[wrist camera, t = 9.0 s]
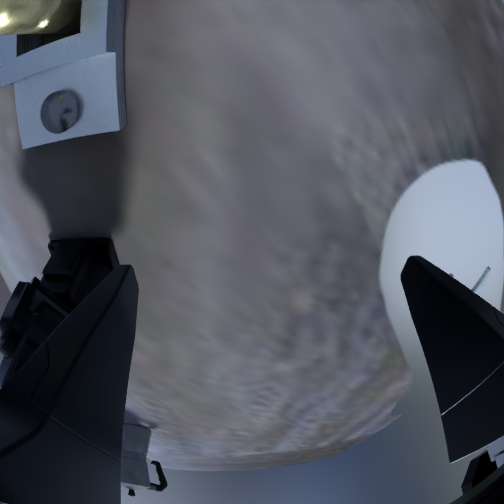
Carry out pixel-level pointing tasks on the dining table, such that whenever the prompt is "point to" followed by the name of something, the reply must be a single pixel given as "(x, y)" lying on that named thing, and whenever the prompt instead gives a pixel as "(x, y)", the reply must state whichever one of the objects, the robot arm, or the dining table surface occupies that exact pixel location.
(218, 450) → the dining table surface
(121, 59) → the slotted mounting bracket
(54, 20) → the pin
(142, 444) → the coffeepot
